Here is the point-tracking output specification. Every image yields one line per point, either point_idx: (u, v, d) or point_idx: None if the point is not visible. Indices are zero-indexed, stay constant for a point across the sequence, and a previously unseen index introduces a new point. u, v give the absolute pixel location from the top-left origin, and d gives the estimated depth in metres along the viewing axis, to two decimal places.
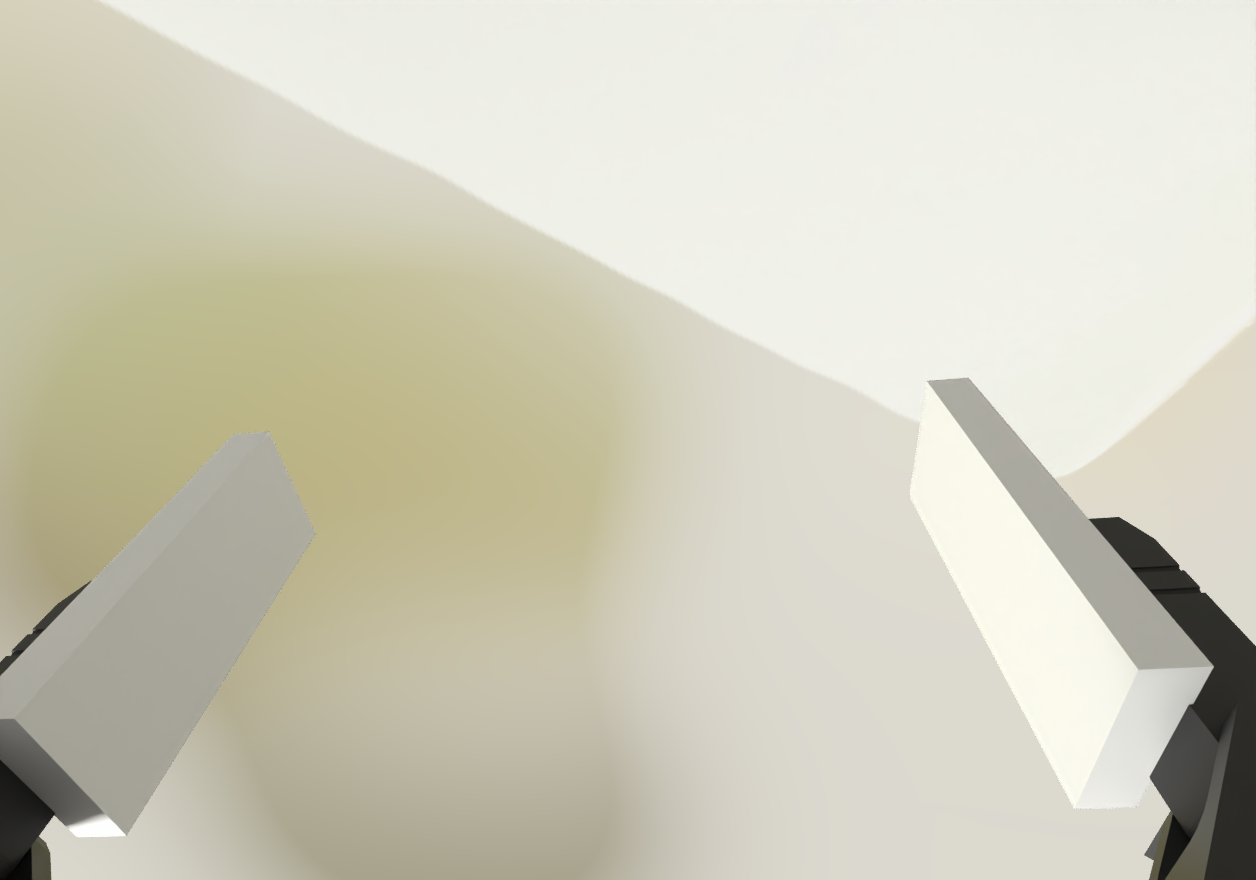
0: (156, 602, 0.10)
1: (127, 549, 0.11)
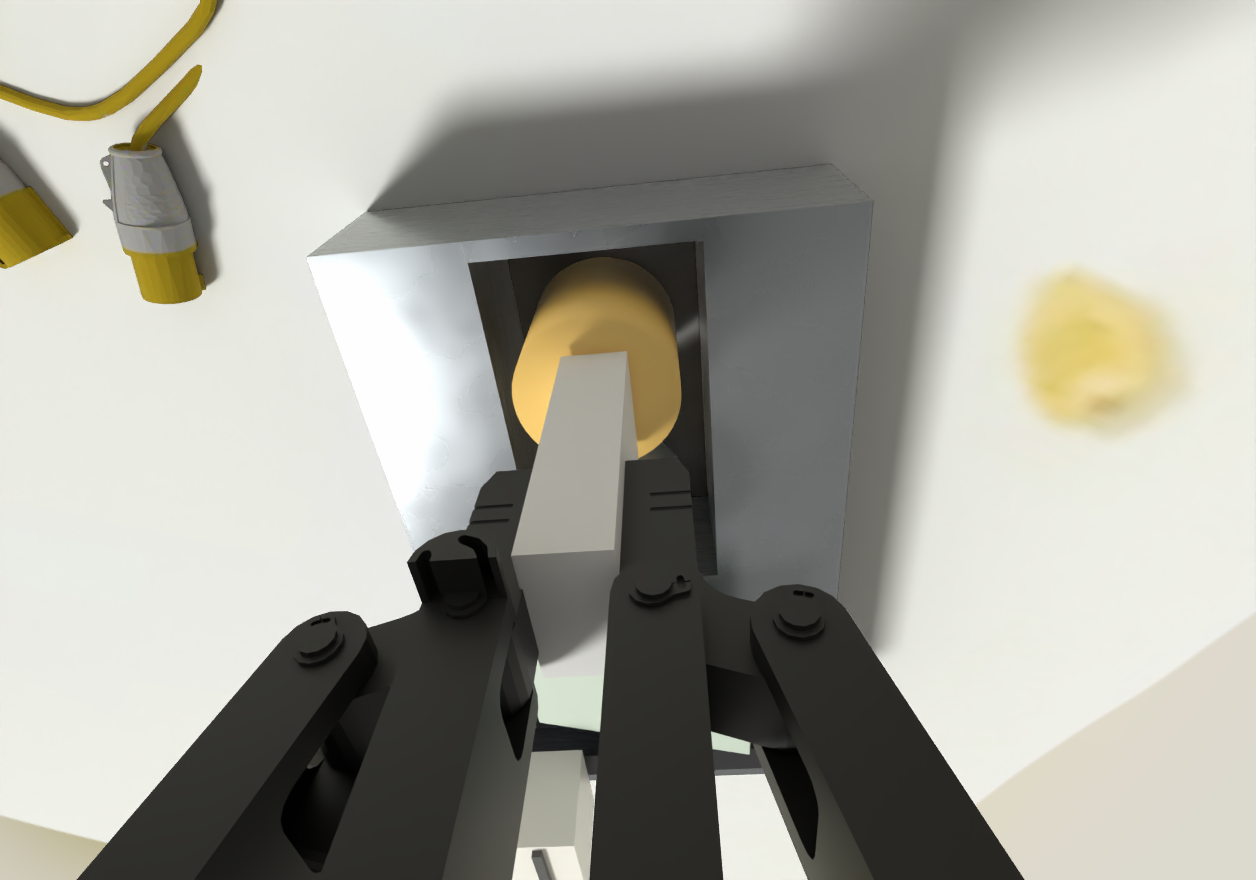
0: None
1: (541, 441, 0.12)
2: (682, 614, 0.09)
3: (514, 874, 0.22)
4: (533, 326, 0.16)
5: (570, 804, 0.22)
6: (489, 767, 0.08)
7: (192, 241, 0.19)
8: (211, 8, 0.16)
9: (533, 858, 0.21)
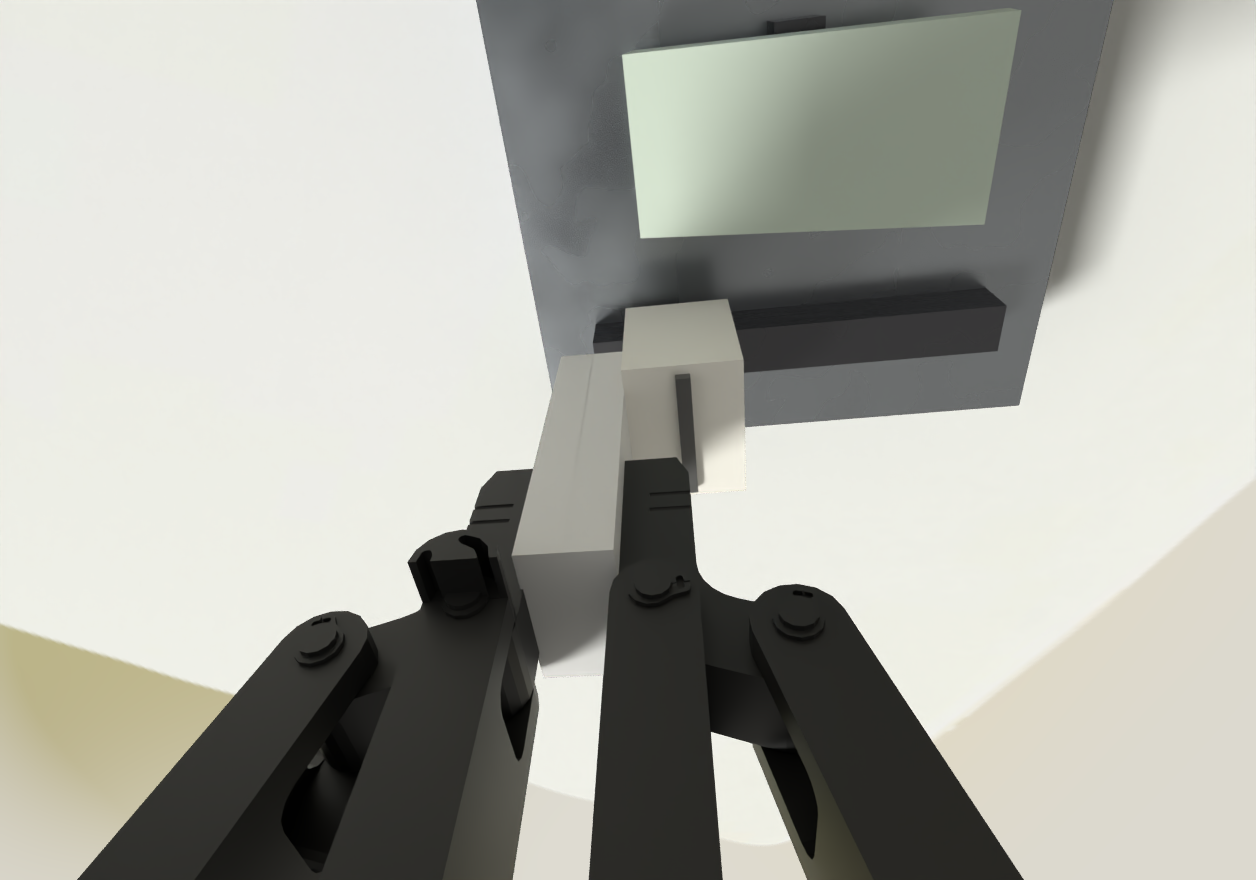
0: None
1: (541, 441, 0.12)
2: (681, 614, 0.09)
3: (639, 440, 0.14)
4: None
5: (725, 333, 0.14)
6: (490, 767, 0.08)
7: None
8: None
9: (678, 381, 0.13)
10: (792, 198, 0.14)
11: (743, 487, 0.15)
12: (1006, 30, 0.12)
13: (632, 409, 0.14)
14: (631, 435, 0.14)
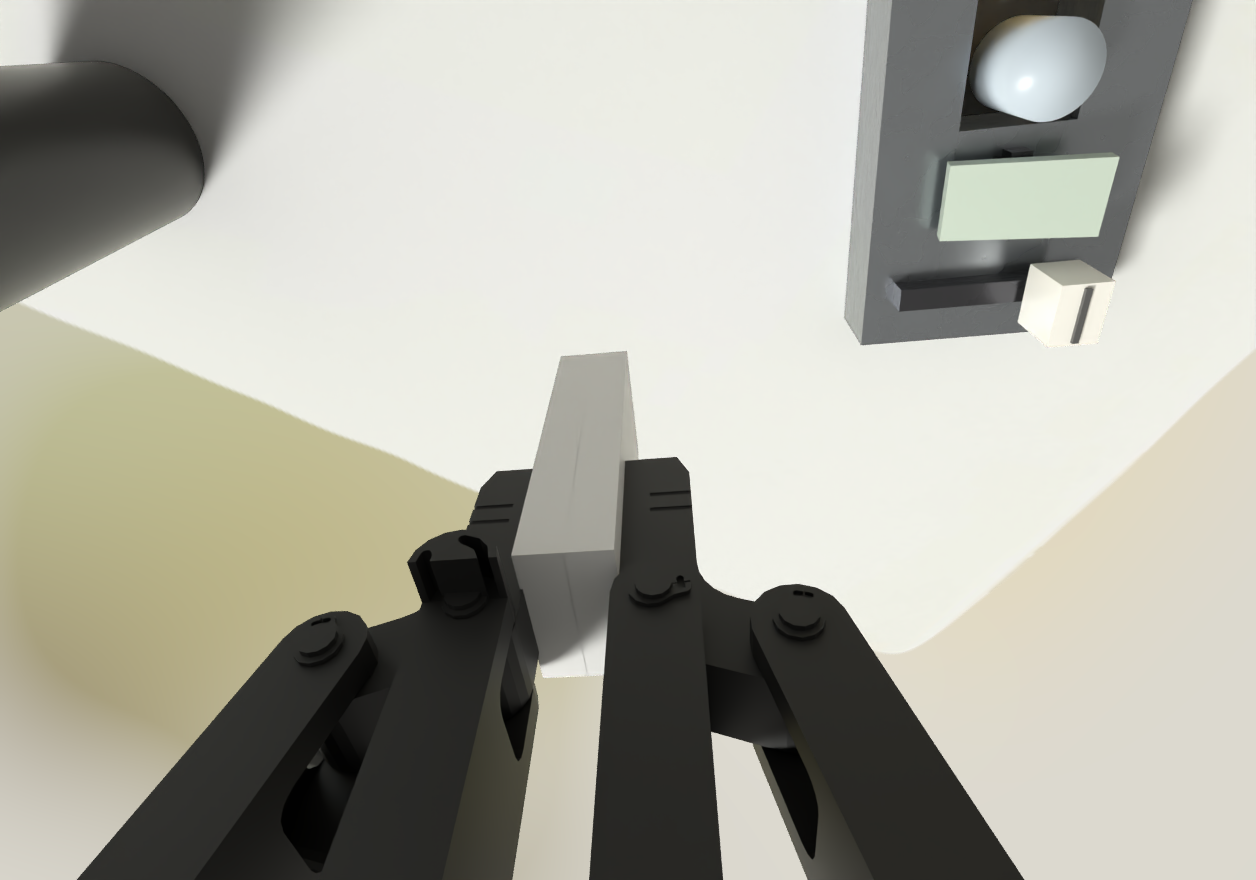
0: None
1: (541, 440, 0.12)
2: (682, 614, 0.09)
3: (1058, 318, 0.33)
4: None
5: (1095, 272, 0.33)
6: (489, 767, 0.08)
7: None
8: None
9: (1088, 290, 0.32)
10: (1015, 224, 0.33)
11: (1095, 343, 0.34)
12: (1113, 163, 0.31)
13: (1060, 303, 0.32)
14: (1055, 316, 0.33)
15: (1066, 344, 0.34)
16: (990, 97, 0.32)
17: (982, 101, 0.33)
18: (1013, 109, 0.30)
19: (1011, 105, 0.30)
